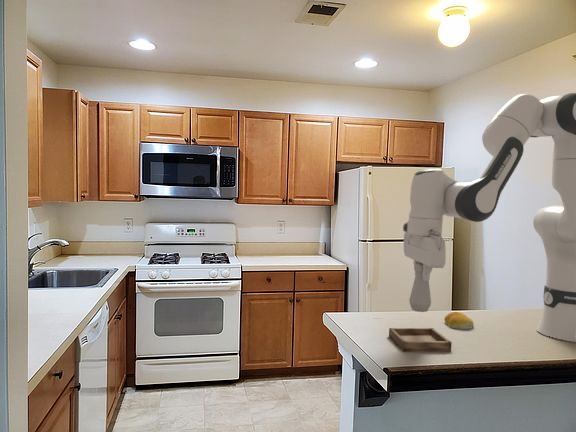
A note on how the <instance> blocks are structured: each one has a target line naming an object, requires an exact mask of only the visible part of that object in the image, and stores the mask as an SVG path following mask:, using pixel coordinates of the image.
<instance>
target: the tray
mask: <svg viewBox="0 0 576 432" xmlns="http://www.w3.org/2000/svg"><path fill="white" fill-rule="evenodd" d="M388 338H390V339H391V340H392V341H393V342H394V343H395V344H396V345H397V346H398V347H399V348H400V350H402V351H403V352H452V343H453V342H452V341H451V340H449V339H448V338H447V337H446V336H444V335H443V334H442V333H440V332H439V331H437V330H436V329H435V328H433V327H389V330H388Z"/></svg>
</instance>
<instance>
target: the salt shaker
mask: <svg viewBox="0 0 576 432" xmlns="http://www.w3.org/2000/svg"><path fill="white" fill-rule="evenodd" d="M423 269H424V268H423V264H422V263H416V264H415V265H414V264H413V270H414V272H415V271H416V276H415V275H414V276H415V277H414V281H413V285H412V288H411V292H410V295H409V299H408V300H409V305H410V308H411V310H412V311H414V312H416V313H417V312H418V313H425V312H428V311H429V309H430V307H431V305H432V297H431V289H430V280H429V281H424V280H422V279H421V273H423Z"/></svg>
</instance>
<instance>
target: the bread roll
mask: <svg viewBox="0 0 576 432" xmlns="http://www.w3.org/2000/svg"><path fill="white" fill-rule="evenodd" d="M443 319H444V322H445V324H446V325H447V326H448V327H449V328H452V329H456V330H457V329H458V330H470V329H472V328H473V327H474V324H475V323H474V321H473V319H472V318H470V317H468V316H467V315H466V314H464V313H462V312H460V311H452V312H450V313H448V314H446V315H445V317H444V318H443Z"/></svg>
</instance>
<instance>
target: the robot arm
mask: <svg viewBox="0 0 576 432" xmlns="http://www.w3.org/2000/svg"><path fill="white" fill-rule="evenodd" d="M481 137H482V138H481V140H482V144H483V147H484V148H485V150H486V151H487V152H488V154H490V155H491V157H492V159H491V160H490V162H489V163H488V165H487V166H486V168H485V170H484V171H483V173H482V175H481V176H480V177H479V178H477V179H475V180H473V181H471V182H461V181H460V182H458V181H457V180H455V179H453V178H451V177H450V176H448V175H447V174H446V173H445V172H444V170H443V169H441V168H431V169H430V168H428V169H420V170H419V171H417V172H415V174H414V175H413V177H412V181H411V186H410V195H409V203H410V212H409V215H408V220H407V221H406V222H404V223H403V226H402V231H403V232H404V234H403V254H404V257H406V258H409V259H411V260H413V266H414V265H415V264H416V263H422V264H423V268H424V269H423V273H421V279H422V280H424V281H429V282H430V276H431V273H432V271H433V269H444V267H445V265H446V251H447V249H446V242H445V239H444V238H443V236H442V235H443V222H444V220H443V219H444V216H447V217H453V218H456V219H463V220H467V221H471V222H476V223H477V222H478V223H479V222H483V221H486V220H488V219H489V218H490V217H491V216H492V215H494V214H493V213H494V212H495V210H496V209H497V206H498V203H499V200H500V197H501V195H502V192H503V190H504V188H505V187H506V185H507V183H508V182H509V179H510V178H511V176H512V175H513V173H514V172H515V170H516V169H517V166H518V165H519V163H520V161H521V159H522V157H523V155H524V151H525V150H524V147H525V145H526V143H527V141H528V140H529V138H539V137H551V138H552V140H553V142H554V146H553V153H552V167H551V169H552V171H551V172H552V174H551V185H552V188H553V189H554V190H555V191H556V192H557V193H558V194H559V197H560V199H561V200H562V201H561V203H562V205H561V204H560V205H557V204H556V205H549V206H544V207H542V208H540V209H539V210H538V211H537V212H536V213H535V214H534V218H533V223H532V224H533V228H534V230H535V232H536V233H537V234H538V236H540V239H541V241H542V244H543V247H544V252H545V256H546V279H545V280H546V282H545V285H544V289H543V296H542V297H543V308H542V311H541V316H540V320H539V322H538V325H537V327H536V332H538V333H539V334H542V335H544V336H547V337H549V336H550V338H552V337H553V339H556V338H557V339H556V340H561V339H562V340H561V341H567V342H572V343H576V92H570V93H566V94H559V95H554V96H553V95H552V96H549V97H546V98H544V99H541V100H540V99H539V98H538V97H537V96H534V95H532V94H528V93H523V94H517V95H516V96H514V97H513V98H512V99H510V100H509V101H508V102H507V103H506V104H505V105H504V106H503V107H502V108H501V109H500V110H499V111H498V112H497V113H496V115H495V116H494V117H493V118H492V119H491V120H490V122H488V124H487V125H486V127H485V129H484V132H482V136H481ZM414 276H416V271H415V270H414Z"/></svg>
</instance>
